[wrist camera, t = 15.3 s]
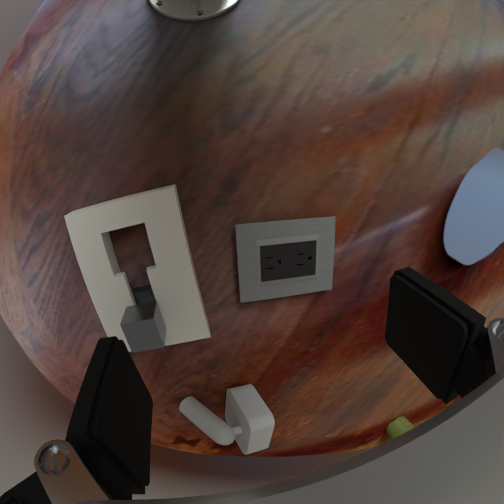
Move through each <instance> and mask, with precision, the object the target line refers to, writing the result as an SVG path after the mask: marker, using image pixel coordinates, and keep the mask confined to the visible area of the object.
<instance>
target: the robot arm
mask: <svg viewBox="0 0 504 504" xmlns="http://www.w3.org/2000/svg"><path fill="white" fill-rule="evenodd" d="M238 1H239V0H149V2H150V4H151V5H152V7H153V8H154V9H155V10H156V11H157V12H159V13H160V14H162V15H164V16H166V17H168V18H171V19H175V20H181V21H200V20H206V19H210V18H214V17H216V16H219V15H221V14H223V13H225V12H227V11H229V10H230V9H231V8H232V7H233V6H235V5H236V3H237V2H238ZM159 5H161V6H159ZM199 14H200V15H201V16H199ZM485 320H486V317H484V316H483V315H481V314H480V313H478V312H477V311H476V310H474V309H473V308H471V307H470V306H468V305H467V304H465V303H464V302H462V301H461V300H460V299H458V298H457V297H455V296H454V295H452V294H451V293H449V292H448V291H446V290H445V289H443V288H441V287H440V286H438V285H437V284H435V283H434V282H432V281H431V280H429V279H428V278H426V277H424V276H423V275H421V274H420V273H418V272H416V271H415V270H413V269H412V268H409V267H407V268H404V269H400V270H397V271H395V272H394V274H393V276H392V277H391V279H390V291H389V303H388V314H387V323H386V331H385V340H386V342H387V344H388V345H389V346H390V347H391V349H392V350H393V351H394V352H395V353H396V354H397V355H398V356H399V357H400V358H401V359H402V360H403V361H404V363H405V364H406V365H407V366H408V367H409V368H410V369H411V370H412V371H413V372H414V373H415V375H416V376H417V377H418V378H419V379H420V380H421V381H422V382H423V383H424V384H425V386H426V387H427V388H428V389H429V390H430V391H431V392H432V393H433V394H434V396H435V397H436V398H438V399H442V401H443V402H444V403H445V404H447V403H449V402H450V401H452V400H453V399H455V398H456V397H457V395H458V394H459V395H460V396H461V399H460V400H459V401H457V402H456V403H454V404H453V405H451V406H450V407H448V408H447V409H445V410H444V411H442V412H440V413H439V414H437V415H435V416H434V417H432V418H430V419H429V420H427V421H425V422H424V423H422V424H420V425H418V426H417V427H415V428H413V429H411V430H409V431H407V432H405V433H403V434H402V435H400V436H398V437H396V438H394V439H392V440H390V441H388V442H386V443H383V444H381V445H379V446H377V447H375V448H373V449H370V450H368V451H366V452H364V453H361V454H359V455H356V456H354V457H351V458H349V459H347V460H344V461H341V462H339V463H336V464H333V465H330V466H328V467H325V468H322V469H319V470H316V471H313V472H310V473H306V474H303V475H300V476H296V477H293V478H289V479H286V480H282V481H278V482H275V483H270V484H266V485H262V486H257V487H253V488H247V489H242V490H237V491H231V492H225V493H218V494H211V495H203V496H193V497H184V498H170V499H149V500H132V494H145V486H148V485H149V482H150V444H151V425H152V409H153V402H152V398H151V395H150V393H149V391H148V389H147V388H146V386H145V384H144V382H143V380H142V378H141V376H140V374H139V372H138V370H137V368H136V366H135V364H134V362H133V360H132V358H131V356H130V353H129V351H128V349H127V347H126V345H125V343H124V341H123V340H119V339H118V338H117V337H116V336H112V337H106V338H100V339H99V340H98V343H97V345H96V348H95V350H94V353H93V356H92V358H91V361H90V363H89V366H88V369H87V372H86V374H85V377H84V380H83V383H82V386H81V389H80V392H79V395H78V398H77V401H76V404H75V407H74V410H73V413H72V417H71V420H70V424H69V427H68V430H67V436H66V439H65V440H61V439H54V440H51V441H48V442H46V443H44V444H43V445H42V446H41V447H40V448H39V449H38V451H37V453H36V455H35V459H34V465H35V469H36V472H35V473H33V474H32V475H30V476H29V477H27V478H26V479H25V480H23V481H22V482H20V483H19V484H17V485H16V486H14V487H13V488H11V489H10V490H8V491H7V492H5V493H4V494H3V495H2V496H1V497H0V504H504V318H496V319H494V320H492V321H490V322H489V324H488V326H487V328H485V327H484V323H485Z"/></svg>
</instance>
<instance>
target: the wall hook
mask: <svg viewBox="0 0 504 504" xmlns="http://www.w3.org/2000/svg"><path fill="white" fill-rule="evenodd" d="M179 411H180V412H181V413H183V414H184V415H185V416H186V417H187V418H188V419H189V420H190V421H191V422H193V423H194V424H195V425H196V426H197V427H198V428H199V429H201V430H202V431H203V432H204V433H205V434H206V435H208V436H209V437H210V438H211V439H212V440H214V441H215V442H216V443H218V444H220V445H229V444H231V443H232V442H233V441H234V439H235V440H236V442H237V444H238V445H239V447H240V449H241V451H242V452H243V454H245V455H247V454H250V453H253V452H257V451H260V450H263V449H266V448H268V447H269V444H270V440H271V437H272V433H273V429H274V425H275V421H274V417H273V415H272V413H271V411H270V410H269V408H268V407H267V406H266V404H265V403H264V401H263V400H262V398H261V397H260V395H259V394H258V392H257V391H256V389H255V388H254V386H253V385H252V384H247V385H243V386H238V387H234V388H229V389H227V391H226V404H225V419H226V423H227V424H226V423H225V422H224V421H222V420H221V419H220V418H219V417H217V416H216V415H215V414H214V413H212V412H211V411H210V410H209V409H207V408H206V407H205V406H204V405H203V404H201V403H200V402H199V401H198V400H197V399H195V398H194V397H193V396H189V397H187V398H185V399H184V400H183V401H182V402H181V403H180V405H179Z"/></svg>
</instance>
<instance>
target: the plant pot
mask: <svg viewBox="0 0 504 504" xmlns="http://www.w3.org/2000/svg"><path fill="white" fill-rule="evenodd" d="M413 428H415V427H414V426H413V425H412V424H411V423H410V422H409V421H408V420H407V419H406V418H405V417H404V416H401V417H398V418H396V419H395V420H394V421H392V422H390V423H389V425H388V426H387V428H386V430H387V433H388V435H389V437H390V439H391V440H392V439H394V438H396V437H398V436H400V435H402V434H403V433H405V432H407V431H409V430H411V429H413Z"/></svg>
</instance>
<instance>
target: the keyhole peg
mask: <svg viewBox="0 0 504 504" xmlns="http://www.w3.org/2000/svg"><path fill="white" fill-rule="evenodd" d="M131 291H132V294H133V296H134V299H135V302H136V305H133V306H128V307H126V309H125V312H124V315H123V317H122V320H121V323H120V326H121V328H122V331H123V333H124V335H125V337H126V340H127V342H128V344H129V346H130V349H131V351H132V353H135V352H141V351H148V350H154V349H160V348H165V337H166V326H165V323H164V320H163V317H162V314H161V312H160V309H159V306H158V303H157V301H156V299H155V296H154V293H153V290H152V287H151V285H147V286H142V287H137V288H132V289H131Z"/></svg>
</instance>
